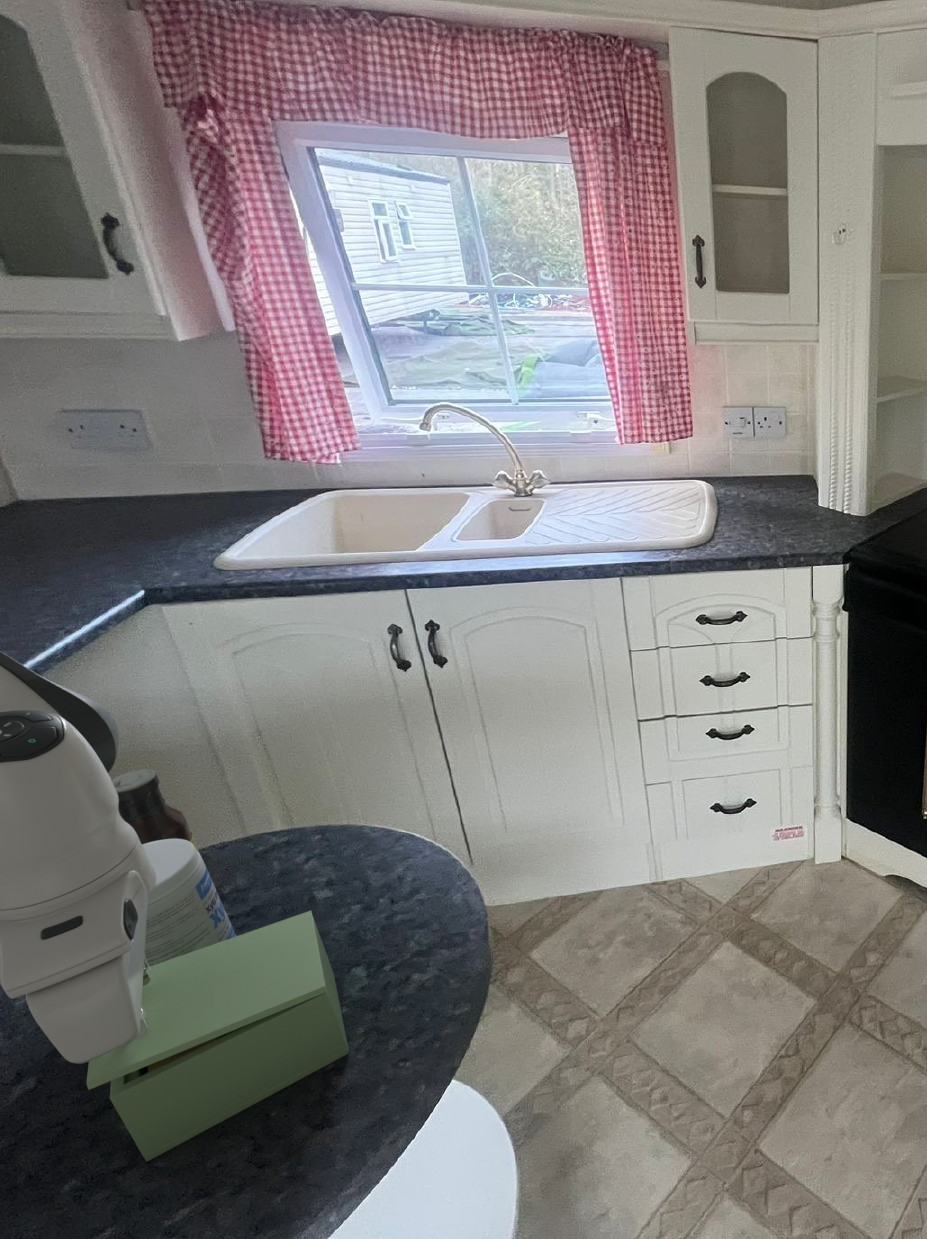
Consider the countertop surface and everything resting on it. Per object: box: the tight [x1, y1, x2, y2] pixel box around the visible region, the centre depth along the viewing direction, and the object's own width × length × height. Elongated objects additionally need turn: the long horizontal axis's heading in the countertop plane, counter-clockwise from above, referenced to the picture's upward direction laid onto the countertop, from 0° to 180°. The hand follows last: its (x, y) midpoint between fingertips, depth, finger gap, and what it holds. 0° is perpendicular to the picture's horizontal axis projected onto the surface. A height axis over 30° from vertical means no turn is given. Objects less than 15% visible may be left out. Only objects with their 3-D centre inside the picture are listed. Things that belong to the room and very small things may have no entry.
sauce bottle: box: [111, 768, 199, 852], centre depth 85 cm, size 6×6×20 cm
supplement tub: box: [142, 839, 237, 966], centre depth 79 cm, size 10×10×15 cm
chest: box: [109, 917, 350, 1162], centre depth 72 cm, size 15×12×9 cm
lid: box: [86, 910, 326, 1091], centre depth 69 cm, size 15×12×5 cm
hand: (137, 1007), depth 66 cm, fingers closed on lid, 5 cm apart
